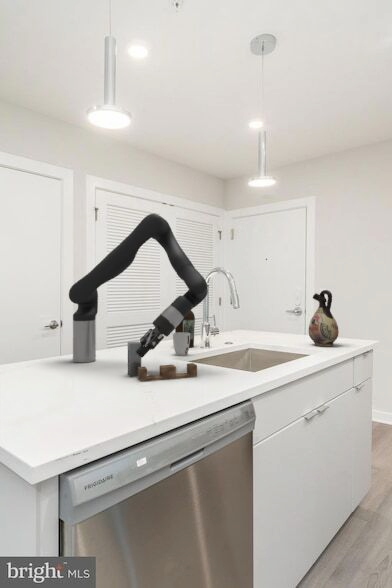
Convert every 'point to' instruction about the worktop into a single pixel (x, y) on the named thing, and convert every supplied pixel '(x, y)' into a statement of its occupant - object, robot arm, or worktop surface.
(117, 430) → the worktop surface
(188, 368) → the brown notched bar
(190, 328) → the olive oil
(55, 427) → the worktop surface
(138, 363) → the gray rectangular block
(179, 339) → the cup
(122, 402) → the worktop surface
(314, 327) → the ceramic jug
